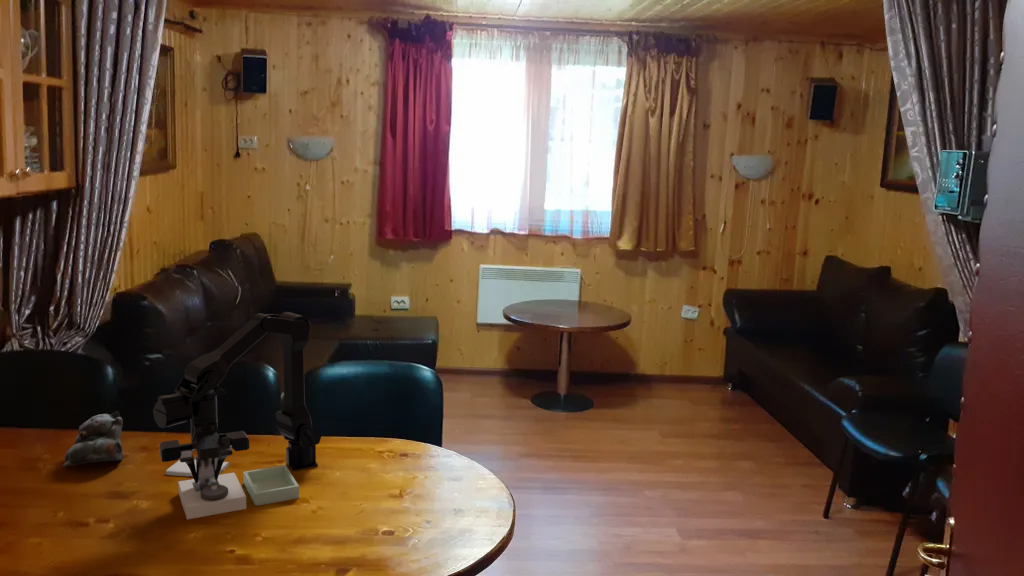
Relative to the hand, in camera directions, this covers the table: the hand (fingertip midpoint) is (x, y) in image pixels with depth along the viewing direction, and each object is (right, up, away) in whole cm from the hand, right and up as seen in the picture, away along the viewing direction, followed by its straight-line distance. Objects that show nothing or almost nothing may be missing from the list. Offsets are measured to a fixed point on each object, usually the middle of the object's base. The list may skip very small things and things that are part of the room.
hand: (206, 480), depth 186 cm
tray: (+13, -4, +5) cm, 15 cm away
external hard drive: (-8, -2, +15) cm, 17 cm away
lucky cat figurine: (-35, 0, +17) cm, 39 cm away
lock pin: (0, -4, +1) cm, 4 cm away
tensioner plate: (+2, -4, -1) cm, 5 cm away
